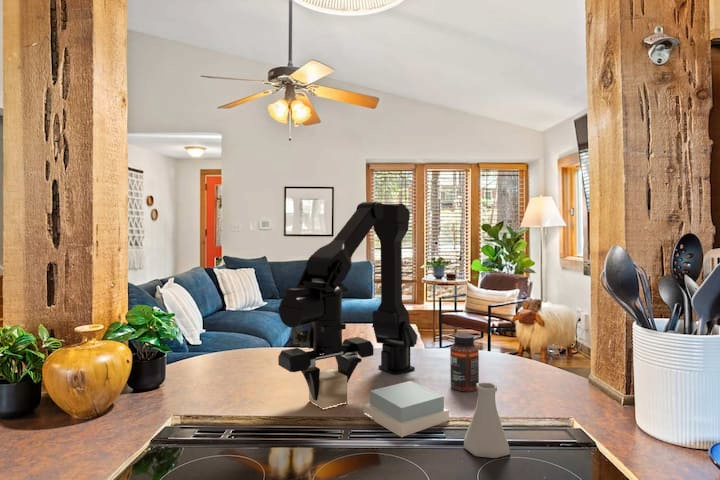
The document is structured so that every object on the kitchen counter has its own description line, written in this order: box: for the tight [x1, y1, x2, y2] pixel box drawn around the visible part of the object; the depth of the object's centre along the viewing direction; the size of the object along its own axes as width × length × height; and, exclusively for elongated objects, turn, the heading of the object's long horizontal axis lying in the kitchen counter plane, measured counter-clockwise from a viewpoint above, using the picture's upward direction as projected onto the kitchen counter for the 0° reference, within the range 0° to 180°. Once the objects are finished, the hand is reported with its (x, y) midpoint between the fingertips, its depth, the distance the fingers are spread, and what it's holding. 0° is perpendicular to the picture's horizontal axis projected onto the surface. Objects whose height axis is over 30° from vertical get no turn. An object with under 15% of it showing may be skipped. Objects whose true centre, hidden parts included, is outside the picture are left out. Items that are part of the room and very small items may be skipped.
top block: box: [369, 380, 445, 423], centre depth 83 cm, size 10×10×2 cm
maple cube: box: [308, 368, 348, 408], centre depth 90 cm, size 6×6×6 cm
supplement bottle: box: [449, 332, 480, 392], centre depth 98 cm, size 6×6×11 cm
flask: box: [463, 381, 511, 459], centre depth 72 cm, size 7×7×10 cm
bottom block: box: [362, 402, 450, 438], centre depth 83 cm, size 11×11×2 cm
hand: (328, 396), depth 90 cm, fingers closed on maple cube, 5 cm apart
